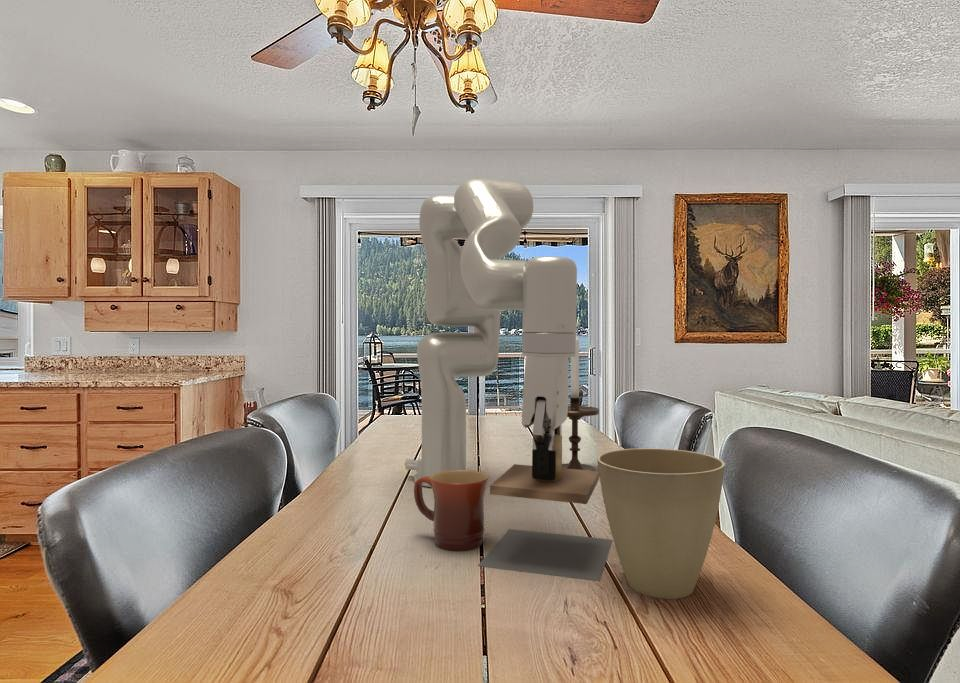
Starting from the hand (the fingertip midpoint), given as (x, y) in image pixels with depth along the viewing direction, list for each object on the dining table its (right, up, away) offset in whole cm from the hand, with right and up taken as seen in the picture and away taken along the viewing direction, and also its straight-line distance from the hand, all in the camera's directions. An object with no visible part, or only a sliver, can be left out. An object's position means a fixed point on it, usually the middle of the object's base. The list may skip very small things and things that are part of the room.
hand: (547, 473), depth 85 cm
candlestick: (+12, -11, +52) cm, 55 cm away
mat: (0, -11, 0) cm, 11 cm away
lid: (0, -2, 0) cm, 2 cm away
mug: (-14, -12, +4) cm, 19 cm away
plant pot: (+12, -12, -12) cm, 21 cm away
